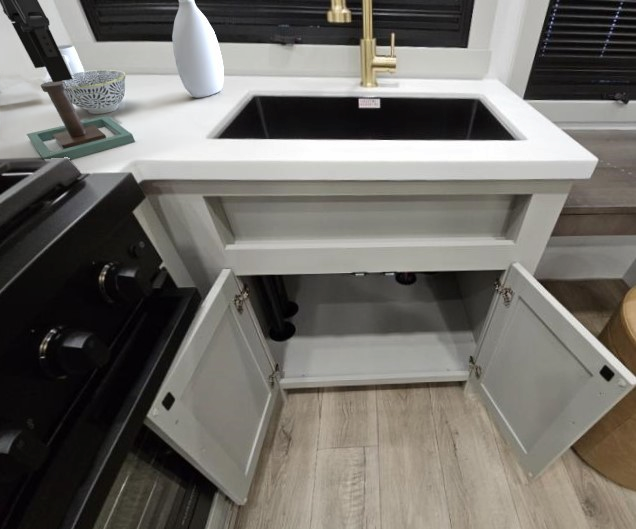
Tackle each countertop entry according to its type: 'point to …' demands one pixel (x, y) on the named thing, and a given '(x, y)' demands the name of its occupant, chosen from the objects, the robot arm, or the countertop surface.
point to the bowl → (97, 90)
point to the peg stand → (69, 118)
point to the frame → (84, 149)
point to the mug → (71, 58)
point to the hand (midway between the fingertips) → (52, 73)
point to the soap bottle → (196, 51)
